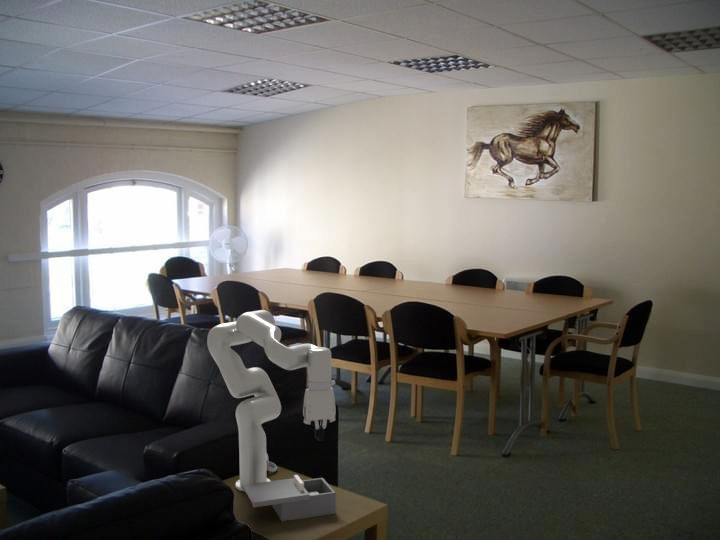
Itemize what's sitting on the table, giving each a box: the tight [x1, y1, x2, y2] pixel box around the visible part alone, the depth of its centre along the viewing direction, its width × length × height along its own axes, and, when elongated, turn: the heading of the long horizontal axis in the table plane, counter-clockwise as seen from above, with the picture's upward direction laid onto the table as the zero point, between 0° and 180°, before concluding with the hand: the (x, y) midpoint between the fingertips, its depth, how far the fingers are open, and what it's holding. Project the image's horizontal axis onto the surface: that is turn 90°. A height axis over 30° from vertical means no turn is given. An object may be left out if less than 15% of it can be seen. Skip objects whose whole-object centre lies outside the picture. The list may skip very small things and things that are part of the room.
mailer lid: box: [243, 474, 310, 508], centre depth 243 cm, size 16×18×4 cm
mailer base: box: [271, 477, 337, 522], centre depth 247 cm, size 14×18×7 cm
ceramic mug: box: [266, 452, 278, 473], centre depth 282 cm, size 11×8×8 cm
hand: (319, 439), depth 247 cm, fingers closed
